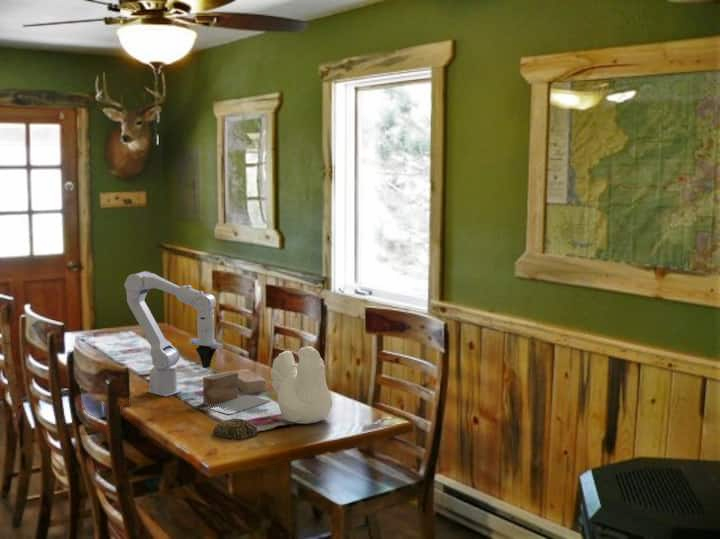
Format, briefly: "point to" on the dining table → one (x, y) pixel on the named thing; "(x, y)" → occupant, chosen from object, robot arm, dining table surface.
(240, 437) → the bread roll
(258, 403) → the spiral notebook
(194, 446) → the dining table surface
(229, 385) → the block
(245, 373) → the brick
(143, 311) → the robot arm
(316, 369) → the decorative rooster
